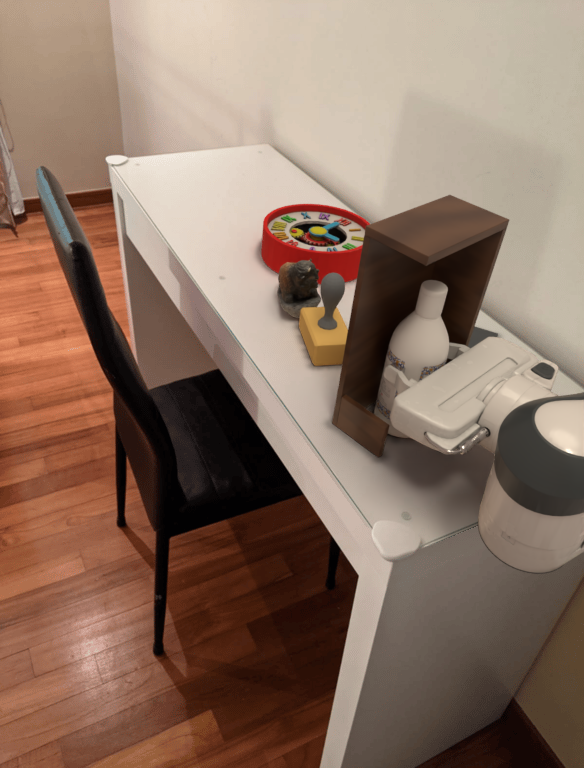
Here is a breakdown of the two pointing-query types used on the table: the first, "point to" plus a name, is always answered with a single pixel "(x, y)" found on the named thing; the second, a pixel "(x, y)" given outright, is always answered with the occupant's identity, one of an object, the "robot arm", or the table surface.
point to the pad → (480, 336)
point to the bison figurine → (298, 286)
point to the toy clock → (314, 238)
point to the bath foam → (416, 346)
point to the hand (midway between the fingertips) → (410, 355)
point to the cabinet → (411, 295)
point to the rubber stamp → (325, 324)
